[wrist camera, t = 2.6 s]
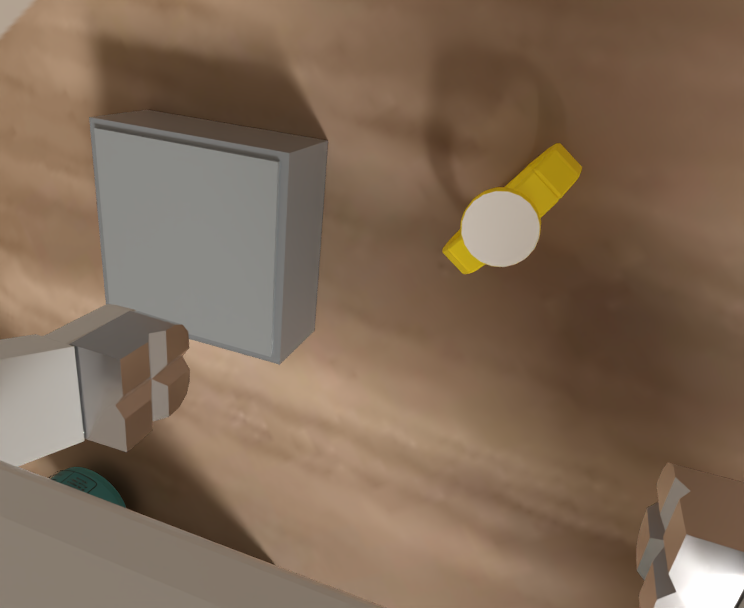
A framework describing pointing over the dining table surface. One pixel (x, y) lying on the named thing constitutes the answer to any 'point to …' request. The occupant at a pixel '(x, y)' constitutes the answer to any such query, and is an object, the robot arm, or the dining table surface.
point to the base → (211, 227)
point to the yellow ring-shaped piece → (512, 214)
